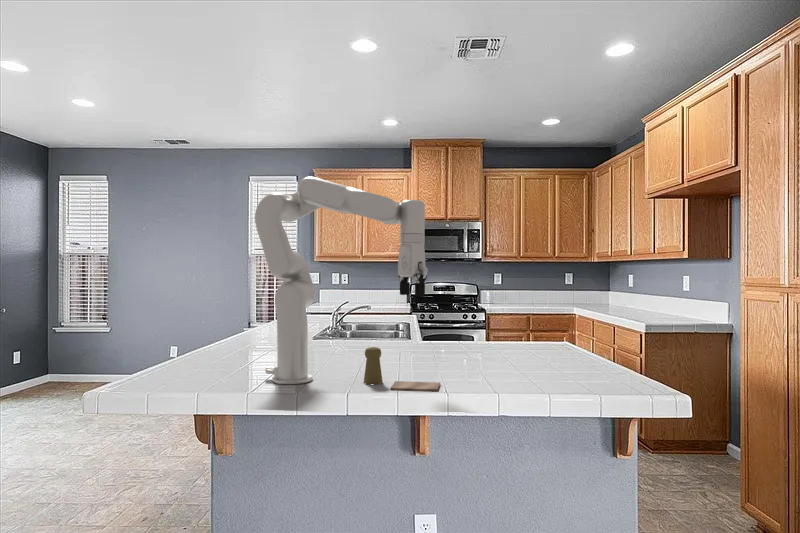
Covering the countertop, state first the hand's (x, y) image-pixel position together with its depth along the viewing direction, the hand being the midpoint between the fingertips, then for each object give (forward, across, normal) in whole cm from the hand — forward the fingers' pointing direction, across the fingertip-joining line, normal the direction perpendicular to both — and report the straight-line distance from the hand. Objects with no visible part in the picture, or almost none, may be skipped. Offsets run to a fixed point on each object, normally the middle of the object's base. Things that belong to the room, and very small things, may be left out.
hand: (412, 295), depth 163 cm
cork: (+28, -8, -10) cm, 30 cm away
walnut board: (+27, +4, -1) cm, 28 cm away
